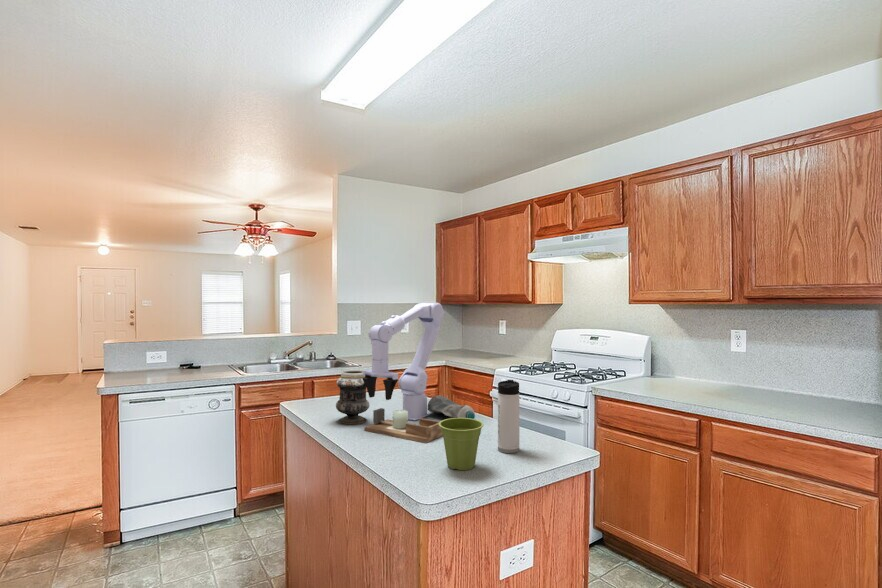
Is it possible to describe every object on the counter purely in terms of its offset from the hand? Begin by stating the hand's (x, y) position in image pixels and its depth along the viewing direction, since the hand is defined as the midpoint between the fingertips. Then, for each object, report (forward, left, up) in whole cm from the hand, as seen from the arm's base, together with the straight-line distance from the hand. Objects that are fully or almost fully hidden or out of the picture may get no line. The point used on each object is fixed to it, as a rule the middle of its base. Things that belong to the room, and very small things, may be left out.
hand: (380, 398), depth 163 cm
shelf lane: (+2, +13, -9) cm, 16 cm away
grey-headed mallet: (+2, +7, -8) cm, 11 cm away
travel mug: (0, +49, -10) cm, 50 cm away
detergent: (-22, +17, -10) cm, 29 cm away
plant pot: (+19, +44, -10) cm, 49 cm away
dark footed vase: (+1, -12, -10) cm, 15 cm away
